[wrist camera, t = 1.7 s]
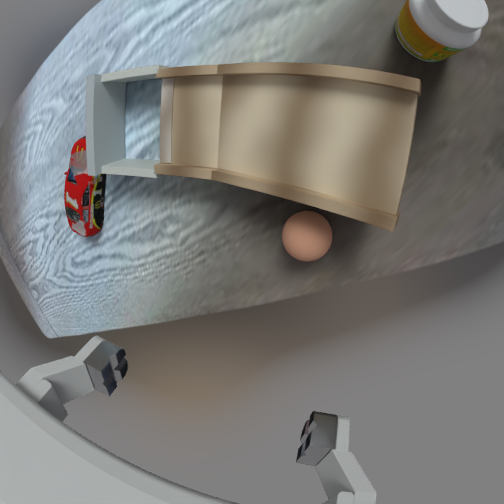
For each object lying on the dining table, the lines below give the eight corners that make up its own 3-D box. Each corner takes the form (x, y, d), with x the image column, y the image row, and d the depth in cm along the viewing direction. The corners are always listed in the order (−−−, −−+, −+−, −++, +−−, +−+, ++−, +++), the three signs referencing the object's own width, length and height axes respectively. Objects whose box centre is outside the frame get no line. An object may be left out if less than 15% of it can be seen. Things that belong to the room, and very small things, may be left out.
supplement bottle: (423, 73, 18) (466, 53, 10) (381, 26, 17) (400, -19, 9) (461, 47, 15) (511, 22, 7) (420, 1, 14) (452, -44, 6)
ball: (337, 209, 26) (336, 226, 22) (328, 252, 28) (325, 275, 24) (289, 200, 27) (280, 215, 23) (284, 243, 29) (274, 264, 25)
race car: (85, 130, 30) (61, 135, 26) (114, 138, 29) (90, 143, 26) (78, 221, 36) (59, 231, 33) (104, 234, 36) (84, 247, 32)
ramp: (401, 93, 19) (430, 82, 12) (385, 197, 24) (402, 233, 17) (179, 72, 24) (122, 65, 16) (176, 165, 28) (122, 186, 21)
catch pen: (181, 68, 24) (152, 63, 19) (177, 169, 28) (149, 180, 24) (118, 76, 25) (86, 76, 21) (118, 164, 30) (87, 175, 26)
